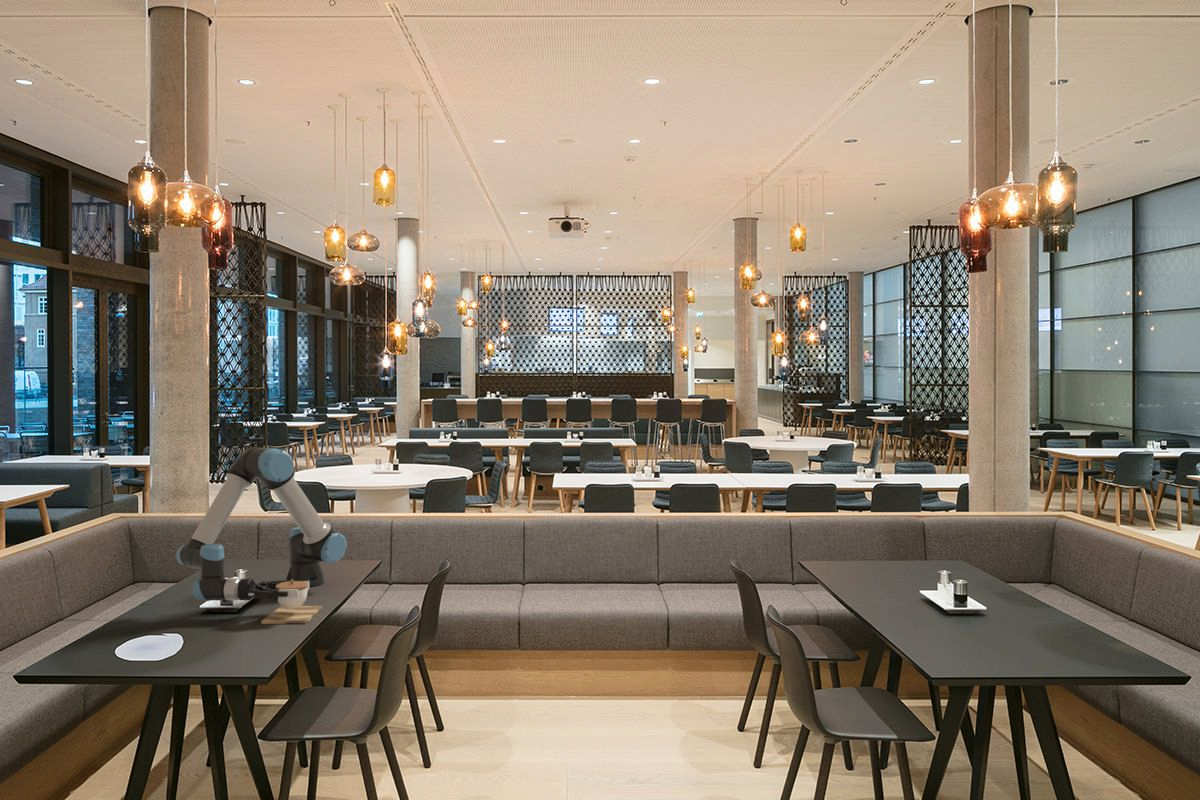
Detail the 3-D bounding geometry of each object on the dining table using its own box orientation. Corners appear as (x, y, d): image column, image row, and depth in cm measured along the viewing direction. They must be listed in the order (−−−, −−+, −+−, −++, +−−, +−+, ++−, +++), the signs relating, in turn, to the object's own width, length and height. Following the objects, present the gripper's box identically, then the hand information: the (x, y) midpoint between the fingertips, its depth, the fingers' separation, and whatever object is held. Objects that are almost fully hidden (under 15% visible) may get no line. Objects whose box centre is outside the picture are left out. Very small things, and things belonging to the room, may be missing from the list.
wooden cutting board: (280, 608, 314) (280, 606, 314) (322, 608, 314) (322, 605, 314) (261, 623, 296) (261, 620, 296) (305, 623, 296) (305, 620, 296)
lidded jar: (297, 611, 298) (297, 584, 298) (269, 609, 301) (269, 582, 300) (314, 603, 309) (313, 577, 309) (286, 601, 311) (286, 575, 311)
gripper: (253, 591, 316) (314, 591, 316) (226, 609, 293) (292, 609, 293) (253, 571, 316) (314, 571, 316) (226, 587, 293) (291, 587, 293)
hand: (303, 589), depth 305 cm, fingers closed on lidded jar, 11 cm apart
